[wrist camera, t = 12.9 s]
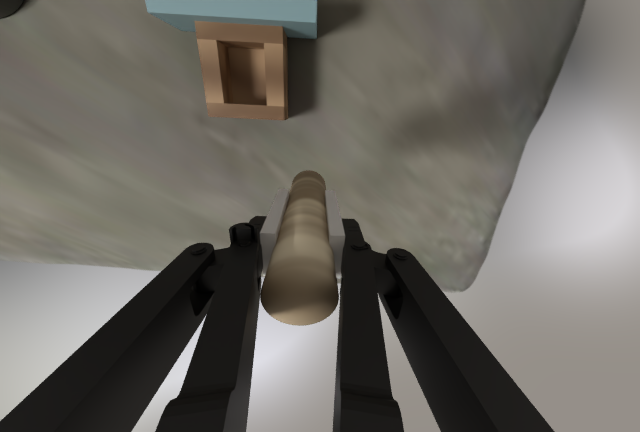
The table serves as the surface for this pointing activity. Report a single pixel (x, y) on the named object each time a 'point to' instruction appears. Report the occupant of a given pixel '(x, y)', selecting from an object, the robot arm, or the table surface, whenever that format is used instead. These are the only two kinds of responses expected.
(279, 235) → the dowel
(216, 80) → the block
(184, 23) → the wall
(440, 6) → the table surface
